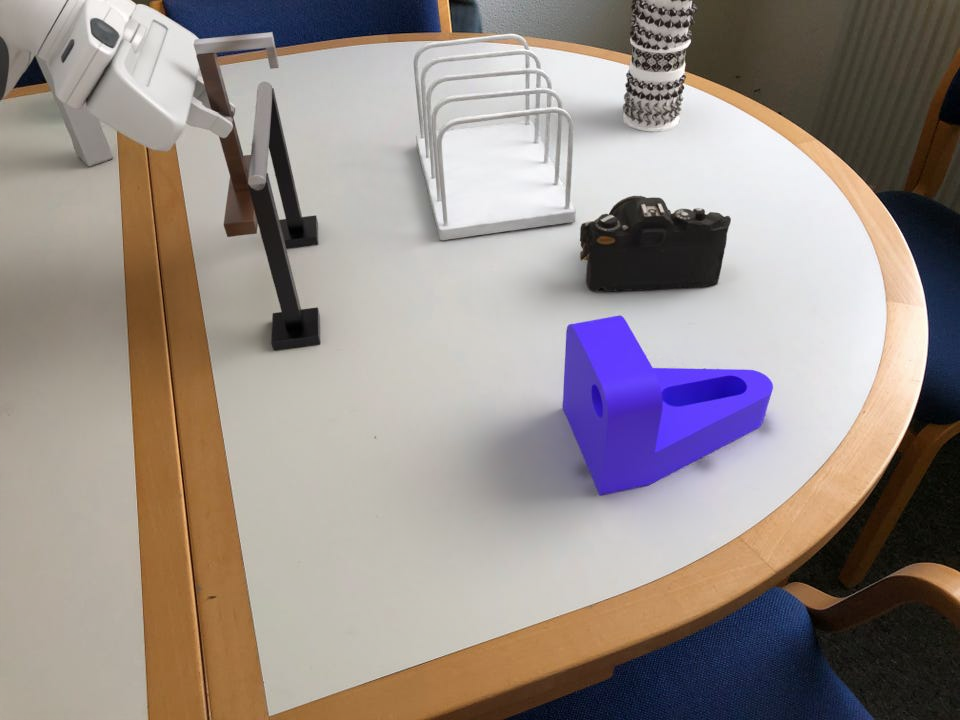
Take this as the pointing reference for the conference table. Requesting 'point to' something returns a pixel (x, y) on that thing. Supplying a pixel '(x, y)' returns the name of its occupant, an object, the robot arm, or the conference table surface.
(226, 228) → the headphone stand
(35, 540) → the conference table surface
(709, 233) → the film camera
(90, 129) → the vintage mobile phone
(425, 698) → the conference table surface
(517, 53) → the file sorter
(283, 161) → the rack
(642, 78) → the white patterned cylinder
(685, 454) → the bracket
